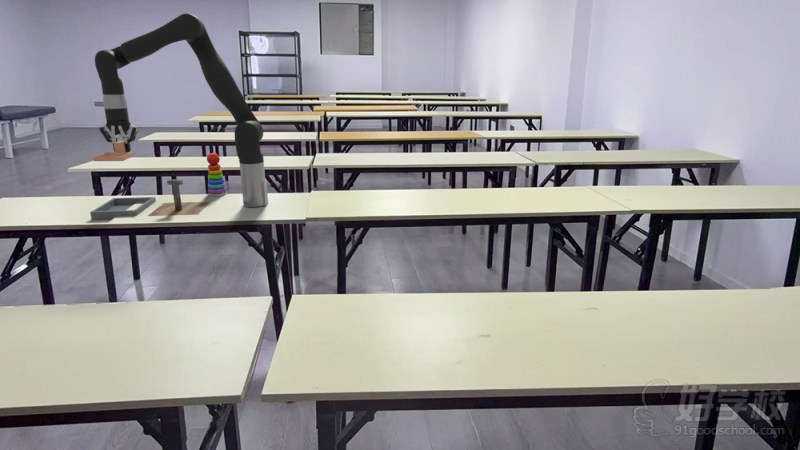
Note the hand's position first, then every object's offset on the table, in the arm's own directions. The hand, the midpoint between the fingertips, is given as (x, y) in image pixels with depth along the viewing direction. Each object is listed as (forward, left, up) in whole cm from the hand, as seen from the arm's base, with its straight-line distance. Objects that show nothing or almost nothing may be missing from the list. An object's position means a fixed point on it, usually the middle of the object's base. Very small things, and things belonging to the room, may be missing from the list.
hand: (122, 152), depth 197 cm
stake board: (-21, +8, -22) cm, 31 cm away
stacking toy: (-30, -14, -22) cm, 40 cm away
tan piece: (0, +6, -1) cm, 6 cm away
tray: (0, +6, -22) cm, 22 cm away
